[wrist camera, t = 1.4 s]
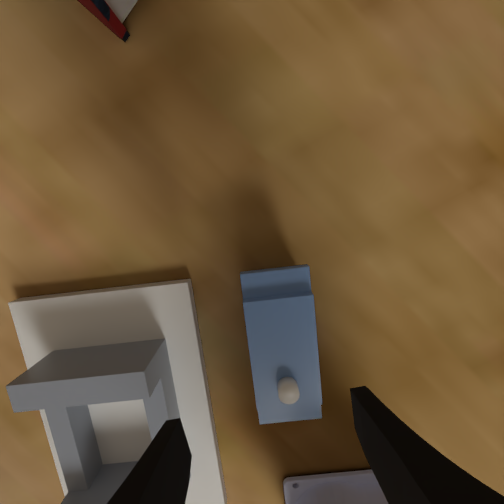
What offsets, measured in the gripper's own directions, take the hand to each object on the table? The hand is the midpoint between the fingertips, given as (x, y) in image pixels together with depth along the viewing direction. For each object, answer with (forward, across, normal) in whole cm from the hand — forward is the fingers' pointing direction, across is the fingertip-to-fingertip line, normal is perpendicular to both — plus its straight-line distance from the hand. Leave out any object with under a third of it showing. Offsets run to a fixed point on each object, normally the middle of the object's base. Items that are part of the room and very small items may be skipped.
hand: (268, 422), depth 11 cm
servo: (+10, -1, +1) cm, 10 cm away
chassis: (+10, +12, +6) cm, 16 cm away
